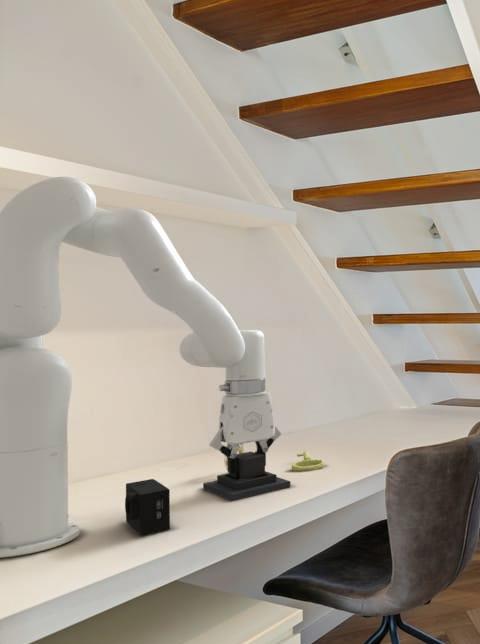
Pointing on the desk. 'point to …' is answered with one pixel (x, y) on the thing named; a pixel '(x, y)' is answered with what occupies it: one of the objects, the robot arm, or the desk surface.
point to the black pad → (251, 464)
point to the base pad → (245, 485)
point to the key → (307, 463)
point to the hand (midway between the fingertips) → (247, 472)
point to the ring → (240, 450)
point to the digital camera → (147, 506)
